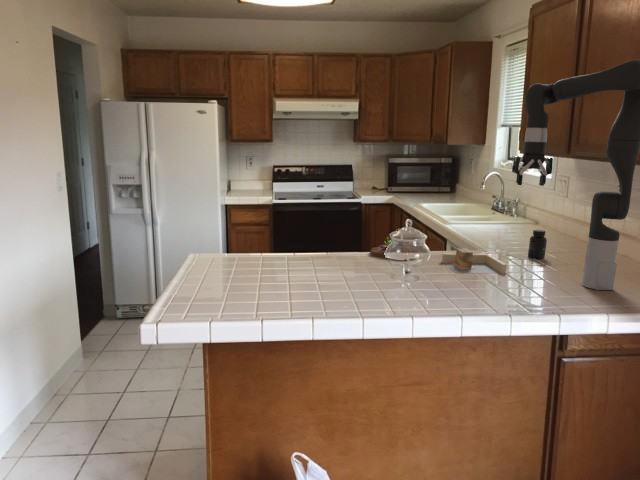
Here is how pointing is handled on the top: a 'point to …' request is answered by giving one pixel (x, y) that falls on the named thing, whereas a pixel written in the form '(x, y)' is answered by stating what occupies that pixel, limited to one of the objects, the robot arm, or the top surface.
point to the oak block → (464, 258)
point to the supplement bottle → (537, 245)
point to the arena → (476, 264)
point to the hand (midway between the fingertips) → (530, 185)
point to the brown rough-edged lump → (380, 249)
